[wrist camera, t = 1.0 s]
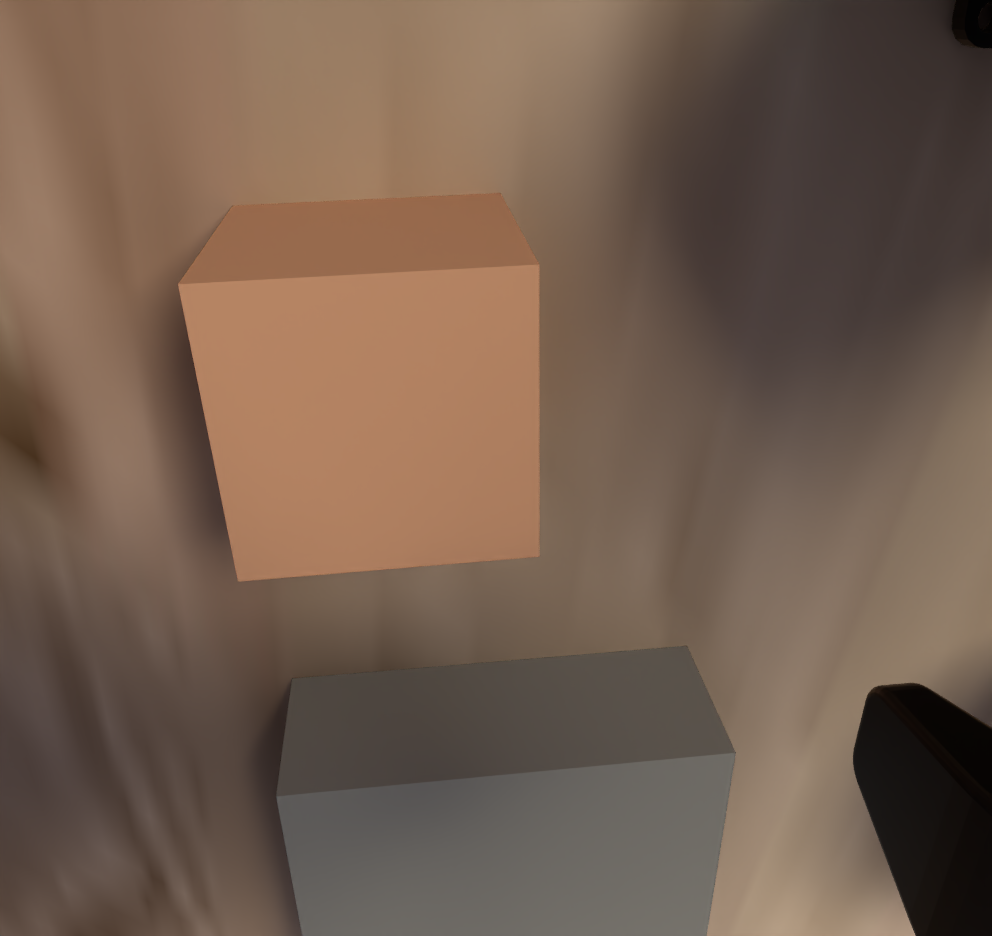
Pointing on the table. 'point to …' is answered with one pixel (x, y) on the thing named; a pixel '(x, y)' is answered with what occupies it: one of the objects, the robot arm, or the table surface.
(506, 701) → the slate block
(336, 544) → the terracotta cube
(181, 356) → the table surface
